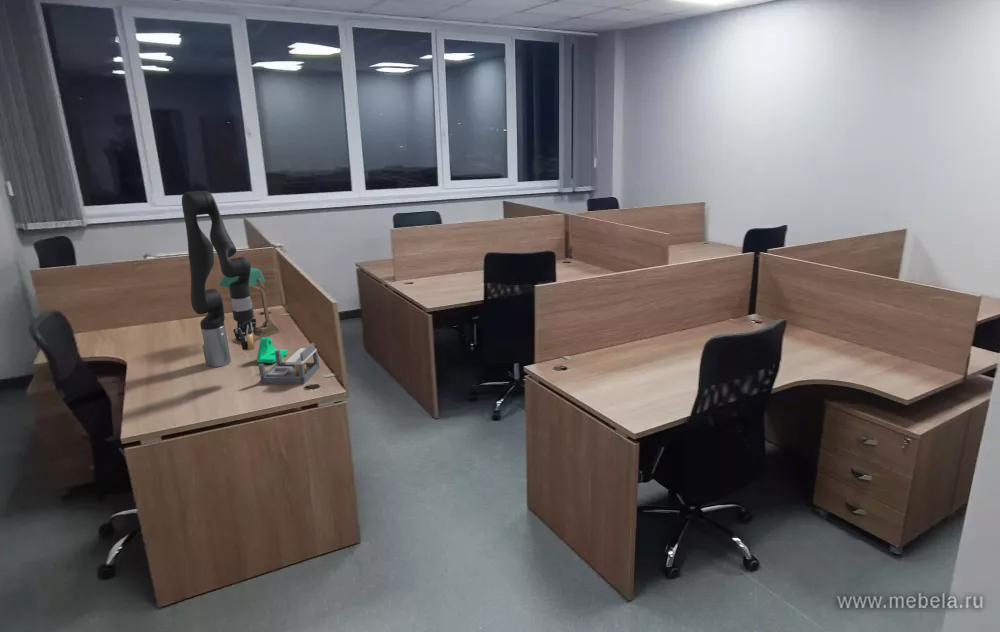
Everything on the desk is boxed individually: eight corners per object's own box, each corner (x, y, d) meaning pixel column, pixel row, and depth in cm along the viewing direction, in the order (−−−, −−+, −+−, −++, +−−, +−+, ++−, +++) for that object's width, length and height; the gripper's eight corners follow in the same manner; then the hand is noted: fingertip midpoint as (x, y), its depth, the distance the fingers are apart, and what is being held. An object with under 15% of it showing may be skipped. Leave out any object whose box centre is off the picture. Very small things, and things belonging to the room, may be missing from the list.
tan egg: (240, 350, 235) (238, 336, 233) (246, 346, 240) (244, 332, 238) (251, 350, 235) (249, 336, 233) (256, 346, 239) (254, 332, 237)
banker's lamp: (284, 333, 292) (273, 265, 281) (247, 346, 275) (235, 274, 264) (264, 328, 300) (253, 261, 289) (227, 340, 284) (214, 271, 272)
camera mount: (273, 365, 253) (269, 343, 250) (257, 364, 255) (254, 342, 252) (288, 355, 264) (285, 333, 261) (273, 354, 266) (270, 333, 263)
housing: (261, 383, 235) (258, 365, 233) (279, 367, 250) (276, 350, 248) (304, 383, 233) (301, 365, 231) (319, 367, 249) (317, 350, 246)
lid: (285, 364, 232) (283, 355, 231) (300, 350, 246) (299, 341, 245) (302, 364, 231) (300, 355, 230) (316, 350, 246) (315, 341, 244)
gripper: (242, 301, 239) (248, 340, 244) (223, 312, 225) (230, 353, 231) (259, 302, 238) (265, 341, 244) (242, 313, 224) (248, 354, 230)
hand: (248, 347), depth 237 cm, fingers closed on tan egg, 4 cm apart
